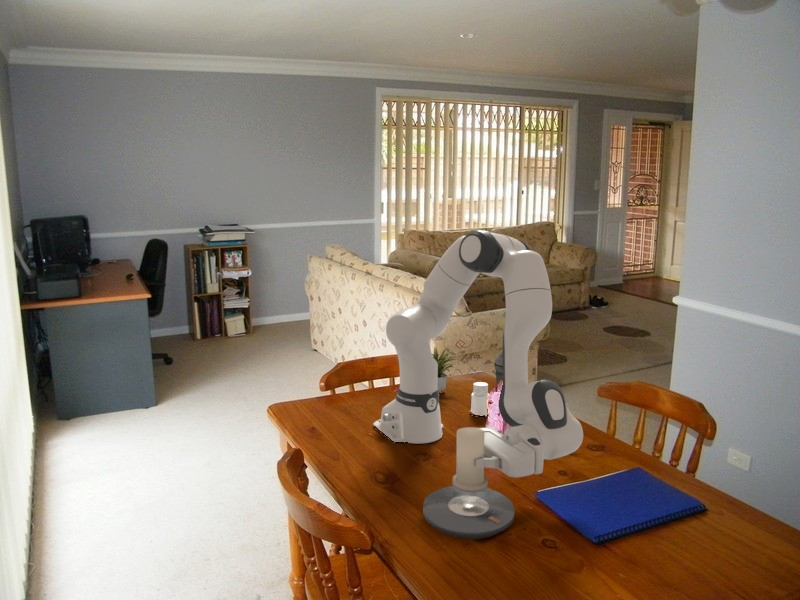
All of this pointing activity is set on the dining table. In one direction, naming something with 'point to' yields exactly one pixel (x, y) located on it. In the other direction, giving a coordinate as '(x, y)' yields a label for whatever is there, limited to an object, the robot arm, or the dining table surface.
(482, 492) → the turntable
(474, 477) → the white flanged cylinder
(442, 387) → the house plant
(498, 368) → the beverage cup
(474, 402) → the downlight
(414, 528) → the dining table surface
